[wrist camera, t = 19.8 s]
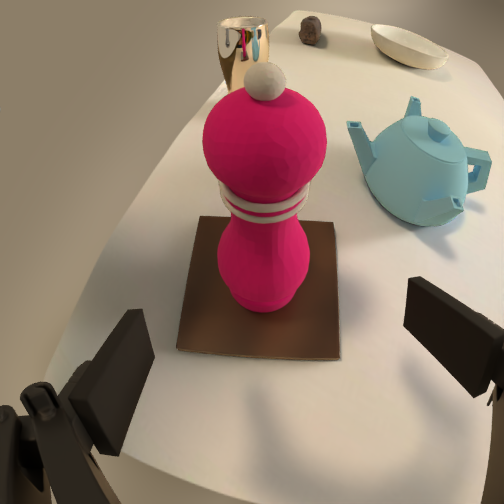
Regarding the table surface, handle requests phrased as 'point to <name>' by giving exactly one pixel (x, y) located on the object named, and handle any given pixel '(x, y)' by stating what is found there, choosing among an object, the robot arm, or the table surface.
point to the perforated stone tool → (310, 30)
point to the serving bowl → (408, 47)
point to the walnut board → (266, 323)
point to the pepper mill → (264, 184)
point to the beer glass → (241, 47)
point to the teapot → (420, 168)
